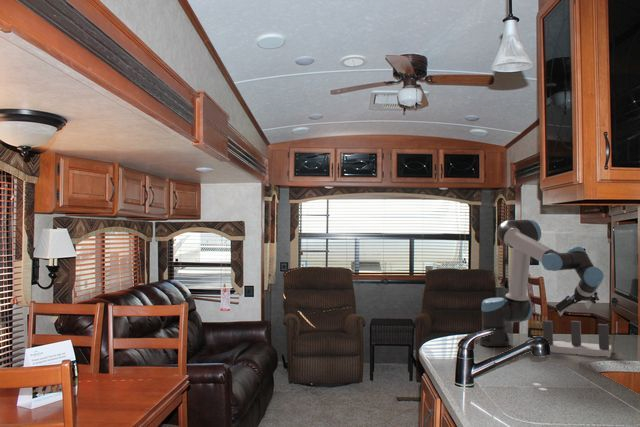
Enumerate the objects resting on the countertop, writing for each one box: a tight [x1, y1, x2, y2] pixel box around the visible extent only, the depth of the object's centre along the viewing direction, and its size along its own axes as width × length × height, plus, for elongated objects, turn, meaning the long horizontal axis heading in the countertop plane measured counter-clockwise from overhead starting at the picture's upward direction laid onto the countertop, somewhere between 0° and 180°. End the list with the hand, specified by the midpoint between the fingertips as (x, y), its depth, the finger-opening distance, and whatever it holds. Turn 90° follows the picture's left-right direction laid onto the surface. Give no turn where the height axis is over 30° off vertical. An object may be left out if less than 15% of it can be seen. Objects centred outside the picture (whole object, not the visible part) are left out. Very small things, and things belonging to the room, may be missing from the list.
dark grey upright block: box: [570, 320, 582, 345], centre depth 259 cm, size 2×4×11 cm, turn 60°
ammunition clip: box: [527, 314, 549, 338], centre depth 293 cm, size 11×2×12 cm, turn 58°
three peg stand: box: [543, 319, 613, 358], centre depth 259 cm, size 13×29×14 cm, turn 60°
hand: (573, 309), depth 260 cm, fingers open, 13 cm apart
